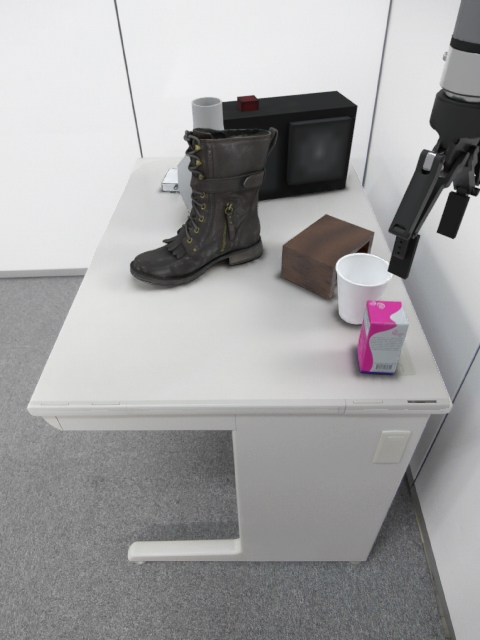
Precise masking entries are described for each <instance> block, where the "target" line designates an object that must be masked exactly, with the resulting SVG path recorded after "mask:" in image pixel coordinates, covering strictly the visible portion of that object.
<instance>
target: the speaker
mask: <svg viewBox="0 0 480 640" xmlns="http://www.w3.org/2000/svg"><path fill="white" fill-rule="evenodd" d="M358 107H359V106H358V104H356V103H354V102H353V101H352V100H351V99H349V98H348V97H346V96H345V95H344V94H343V93H341V92H340V91H338V90H331V91H319V92H310V93H309V92H308V93H299V94H290V95H280V96H272V97H271V96H270V97H269V96H268V97H259V98H257V96H256V95H255V94H250V95H241V96H240V95H239V96H237V97H236V100H229V101H222V111H223V126H224V130H228V129H247V128H249V129H253V128H254V129H255V128H256V129H261V130H263V129H264V130H267V131H269V128H271V127H273V128H275V129H276V130H277V131H278V135H277V140H276V143H275V145H274V147H273V149H272V150H271V152H270V153H269V155H268V157H267V161H266V164H265V170H266V174H265V178H264V181H263V183H262V184H261V185H260V188H259V192H258V202H260V201H268V200H273V199H274V200H275V199H280V198H288V197H296V196H303V195H310V194H311V195H312V194H317V193H325V192H332V191H339V190H345V189H346V187H347V179H348V173H349V166H350V159H351V152H352V147H353V140H354V132H355V127H356V120H357V114H358Z"/></svg>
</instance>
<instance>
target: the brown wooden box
mask: <svg viewBox="0 0 480 640" xmlns="http://www.w3.org/2000/svg"><path fill="white" fill-rule="evenodd" d="M375 234H376V233H375V231H373V230H371V229H367V228H364V227H362V226H359V225H357V224H353V223H351V222H348V221H346V220H343V219H340V218H338V217H335V216H332V215H330V214H326V213H325V214H324V215H323V216H321V217H320V218H318V219H317V220H316V221H314V222H313V223H311V224H310V225H308V226H307V227H306V228H304V229H303V230H302V231H300V232H299V233H297V234H296V235H295V236H293V237H292V238H290V239H289V240H287V241H286V242H285V243H283V244H282V247H281V249H282V250H281V265H280V266H281V267H280V269H281V270H280V278H281V279H282V278H283V279H285V280H287V281H289V282H291V283H293V284H295V285H297V286H299V287H301V288H303V289H305V290H308V291H309V292H312V293H314V294H316V295H318V296H320V297H322V298H324V299H327V300H330V299H331V298H332V297H333V296H334V293H335V285H336V284H338V283H337V272H336V263H337V262H338V260H339V259H340V258H342V257H344V256H346V255H348V254H353V253H366V254H371V251H372V246H373V242H374V238H375Z"/></svg>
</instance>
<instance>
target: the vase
mask: <svg viewBox="0 0 480 640" xmlns="http://www.w3.org/2000/svg"><path fill="white" fill-rule="evenodd" d="M222 102H223V100H222V99H221V98H220V97H219V98H218V97H214V96H203V97H196V98H194V99H192V100H191V112H192V114H191V115H192V130H193V129H194V128H198V127H199V128H210V129H215V130H224V126H223V111H222ZM190 161H191V160H190V157H189V156H187V155H186V154H184V156H183V157H182V159H180V161H179V162H178V164H177V165H176V169H177V172H178V190H179V194H180V197H181V199H182V201H183V203H184V206H185V208H187V210H188V211H189V212H191V209H192V207H193V206H192V199H191V193H192V188H191V187H190V181H191V177H192V172H190V171H189V170H188V165H189V163H190Z"/></svg>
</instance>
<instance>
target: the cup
mask: <svg viewBox="0 0 480 640" xmlns="http://www.w3.org/2000/svg"><path fill="white" fill-rule="evenodd" d="M389 263H390V262H388V261H387V260H386V259H383V258H382V257H380V256H377V255H375V254H371V253H370V254H366V253H353V254H348V255H346V256H344V257H342V258H340V259H339V260H338V262H337V263H336V272H337V283H336V284H337V301H338V302H337V303H338V304H337V305H338V307H337V308H338V315H339V317H340V318H341V319H342V320H343V321H345V322H346V323H347V324H350V325H362V322H363V318H364V313H365V308H366V303H367V300H371V301H381V298H382V296H383V294H384V292H385V290H386V288H387V285H389V282H390V281H391V280H392V278H393V276H394V274H392V273H390V272H388V267H389Z"/></svg>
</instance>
